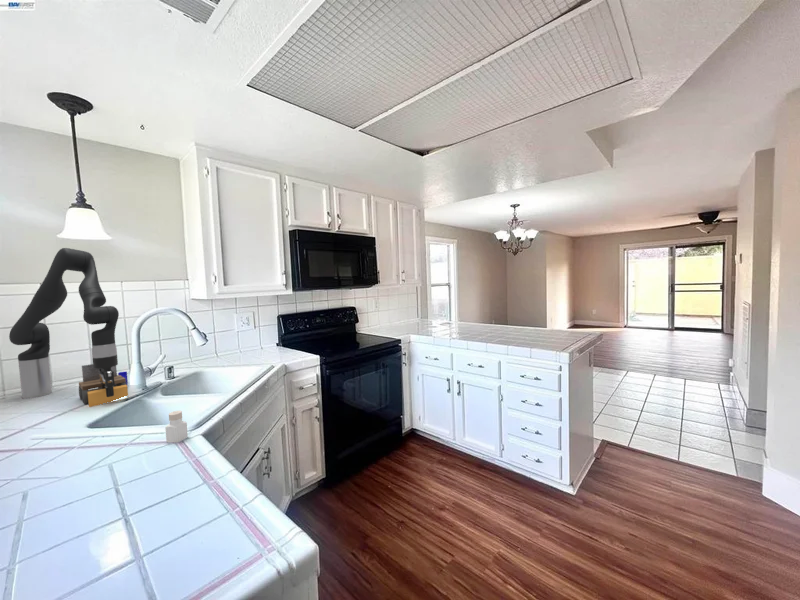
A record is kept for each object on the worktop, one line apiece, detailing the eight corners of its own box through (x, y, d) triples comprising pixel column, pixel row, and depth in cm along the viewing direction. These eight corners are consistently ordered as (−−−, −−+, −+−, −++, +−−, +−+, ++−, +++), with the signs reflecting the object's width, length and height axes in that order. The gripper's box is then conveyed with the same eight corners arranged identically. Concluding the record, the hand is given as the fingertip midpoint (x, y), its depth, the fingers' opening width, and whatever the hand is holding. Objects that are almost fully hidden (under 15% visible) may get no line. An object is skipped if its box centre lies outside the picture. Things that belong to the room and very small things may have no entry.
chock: (88, 406, 132) (87, 391, 131) (127, 398, 140) (126, 384, 140) (89, 408, 129) (87, 393, 128) (128, 400, 137) (127, 386, 137)
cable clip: (123, 389, 153) (122, 376, 153) (111, 390, 151) (110, 378, 151) (131, 382, 164) (130, 370, 164) (120, 384, 162) (119, 372, 162)
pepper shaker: (177, 448, 93) (175, 415, 93) (165, 447, 94) (163, 415, 94) (189, 441, 97) (186, 410, 97) (177, 440, 98) (175, 409, 98)
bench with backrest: (79, 398, 141) (76, 365, 141) (120, 390, 152) (117, 359, 151) (85, 406, 131) (81, 370, 131) (128, 396, 142) (125, 363, 141)
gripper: (120, 355, 131) (123, 395, 132) (113, 352, 140) (116, 389, 141) (95, 359, 125) (98, 400, 126) (89, 355, 135) (92, 394, 135)
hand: (108, 394), depth 133 cm, fingers open, 8 cm apart
